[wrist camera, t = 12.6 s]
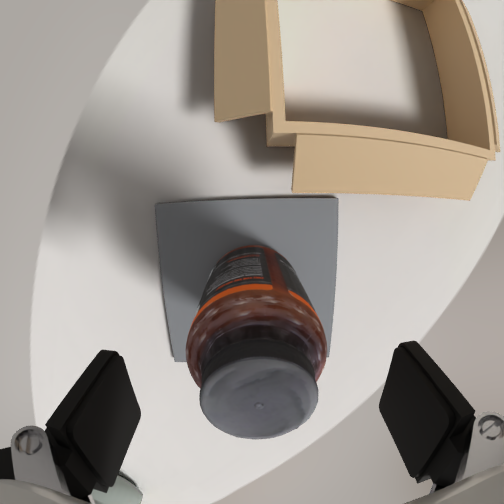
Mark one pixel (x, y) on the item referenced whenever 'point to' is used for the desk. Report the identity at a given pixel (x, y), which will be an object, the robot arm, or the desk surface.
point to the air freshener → (118, 493)
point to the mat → (238, 235)
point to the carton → (356, 136)
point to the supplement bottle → (256, 346)
